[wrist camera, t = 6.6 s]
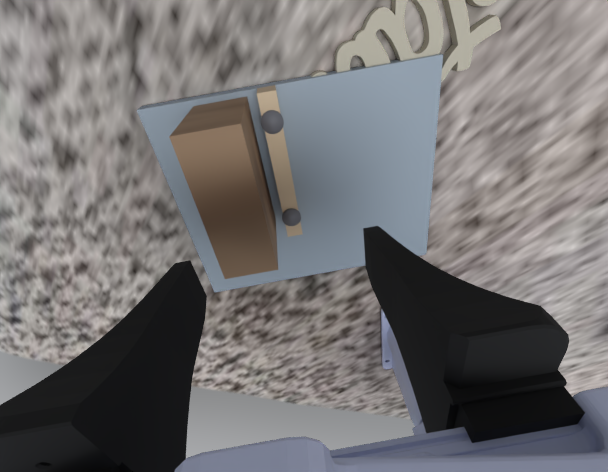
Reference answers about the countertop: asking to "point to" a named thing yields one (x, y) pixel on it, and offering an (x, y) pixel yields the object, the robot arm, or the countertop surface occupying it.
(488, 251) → the countertop surface
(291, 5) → the countertop surface
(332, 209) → the blue flat mat
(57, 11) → the countertop surface
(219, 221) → the brown square box
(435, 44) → the decorative sign
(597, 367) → the countertop surface
